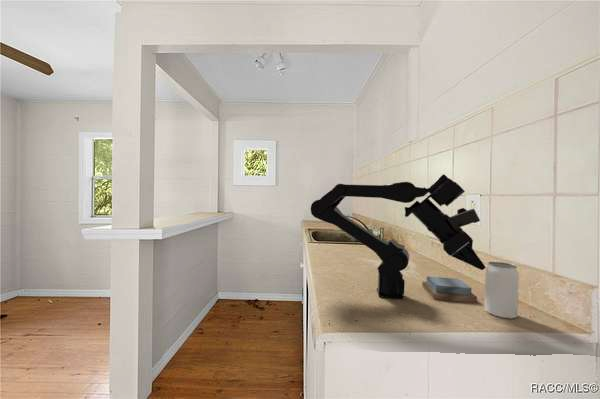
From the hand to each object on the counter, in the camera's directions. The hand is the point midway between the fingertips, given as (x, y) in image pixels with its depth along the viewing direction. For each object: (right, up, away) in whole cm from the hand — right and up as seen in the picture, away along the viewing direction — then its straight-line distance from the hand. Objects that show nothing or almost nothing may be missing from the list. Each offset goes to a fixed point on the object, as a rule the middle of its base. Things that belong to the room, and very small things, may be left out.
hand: (480, 264), depth 68 cm
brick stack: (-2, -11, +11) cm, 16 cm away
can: (+4, -12, -2) cm, 12 cm away
